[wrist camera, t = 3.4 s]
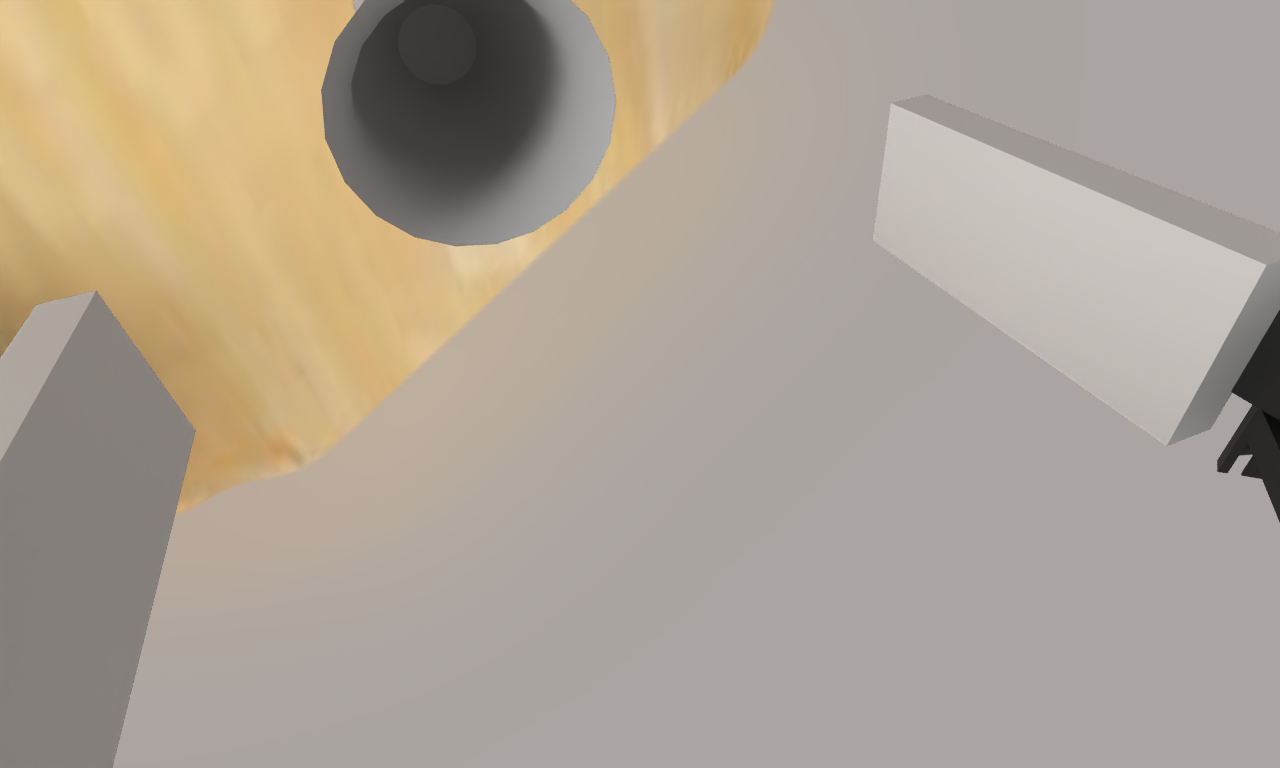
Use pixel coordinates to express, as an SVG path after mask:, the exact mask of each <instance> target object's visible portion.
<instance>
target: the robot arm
mask: <svg viewBox="0 0 1280 768" xmlns="http://www.w3.org/2000/svg"><path fill="white" fill-rule="evenodd" d="M873 241H875V242H876V243H878V244H879V245H880V246H882V247H883V248H885V249H886V250H888V251H889V252H890V253H892V254H893V255H895V256H896V257H898V258H899V259H900V260H902V261H903V262H905V263H906V264H908V265H909V266H910V267H912V268H913V269H915V270H916V271H918V272H919V273H920V274H922V275H923V276H925V277H926V278H927V279H929V280H931V281H932V282H933V283H935V284H936V285H938V286H939V287H940V288H942V289H943V290H945V291H946V292H947V293H949V294H950V295H952V296H953V297H955V298H956V299H958V300H959V301H960V302H962V303H963V304H965V305H966V306H968V307H969V308H970V309H972V310H973V311H975V312H976V313H977V314H979V315H980V316H982V317H983V318H984V319H986V320H987V321H989V322H990V323H992V324H993V325H994V326H996V327H997V328H999V329H1000V330H1002V331H1003V332H1004V333H1006V334H1007V335H1009V336H1010V337H1012V338H1013V339H1015V340H1016V341H1017V342H1019V343H1020V344H1022V345H1023V346H1025V347H1026V348H1027V349H1029V350H1030V351H1032V352H1033V353H1034V354H1036V355H1037V356H1039V357H1040V358H1042V359H1043V360H1044V361H1046V362H1047V363H1049V364H1050V365H1052V366H1053V367H1054V368H1056V369H1057V370H1059V371H1060V372H1062V373H1063V374H1064V375H1066V376H1067V377H1069V378H1070V379H1072V380H1073V381H1074V382H1076V383H1077V384H1079V385H1080V386H1082V387H1083V388H1084V389H1086V390H1087V391H1089V392H1090V393H1091V394H1093V395H1094V396H1096V397H1097V398H1099V399H1100V400H1101V401H1103V402H1104V403H1106V404H1107V405H1109V406H1110V407H1111V408H1113V409H1114V410H1116V411H1117V412H1119V413H1120V414H1122V415H1123V416H1125V417H1126V418H1127V419H1129V420H1130V421H1132V422H1133V423H1134V424H1136V425H1137V426H1139V427H1140V428H1141V429H1143V430H1144V431H1146V432H1147V433H1149V434H1150V435H1152V436H1153V437H1154V438H1156V439H1157V440H1159V441H1160V442H1161V443H1163V444H1164V445H1166V446H1168V445H1171V444H1173V443H1176V442H1178V441H1181V440H1184V439H1186V438H1188V437H1191V436H1194V435H1196V434H1199V433H1201V432H1204V431H1206V430H1209V429H1211V427H1212V426H1213V424H1214V422H1215V421H1216V419H1217V417H1218V415H1219V414H1220V412H1221V411H1222V409H1223V407H1224V406H1225V404H1226V402H1227V401H1228V399H1229V397H1230V396H1231V394H1232V393H1234V394H1236V395H1237V396H1239V397H1241V398H1242V399H1244V400H1246V401H1248V402H1249V403H1251V404H1252V407H1251V408H1250V410H1249V411H1248V413H1247V414H1246V416H1245V418H1244V419H1243V421H1242V422H1241V424H1240V425H1239V427H1238V429H1237V430H1236V432H1235V433H1234V435H1233V437H1232V438H1231V440H1230V441H1229V443H1228V445H1227V446H1226V448H1225V449H1224V451H1223V452H1222V454H1221V456H1220V457H1219V459H1218V460H1217V463H1218V464H1217V465H1218V466H1217V467H1218V468H1217V471H1218V472H1223V473H1228V471H1229V470H1230V468H1231V467H1232V465H1233V464H1234V462H1235V461H1236V459H1237V458H1238V456H1239V455H1251V454H1252V455H1253V456H1252V458H1251V459H1250V461H1249V462H1248V464H1247V465H1246V467H1245V468H1244V470H1243V472H1242V473H1241V475H1242V476H1248V477H1254V478H1260V479H1262V480H1263V482H1264V485H1265V487H1266V490H1267V492H1268V495H1269V497H1270V499H1271V502H1272V504H1273V507H1274V509H1275V511H1276V514H1277V517H1278V519H1279V522H1280V232H1277V231H1274V230H1272V229H1269V228H1267V227H1264V226H1262V225H1259V224H1257V223H1254V222H1252V221H1249V220H1246V219H1244V218H1241V217H1238V216H1236V215H1233V214H1231V213H1228V212H1226V211H1223V210H1221V209H1218V208H1216V207H1213V206H1211V205H1208V204H1205V203H1202V202H1200V201H1198V200H1195V199H1193V198H1190V197H1187V196H1185V195H1182V194H1180V193H1177V192H1175V191H1172V190H1170V189H1167V188H1165V187H1162V186H1159V185H1157V184H1154V183H1151V182H1149V181H1146V180H1144V179H1141V178H1139V177H1136V176H1134V175H1131V174H1129V173H1126V172H1124V171H1121V170H1118V169H1116V168H1113V167H1111V166H1108V165H1106V164H1103V163H1100V162H1098V161H1095V160H1093V159H1090V158H1088V157H1085V156H1082V155H1080V154H1077V153H1075V152H1072V151H1070V150H1067V149H1065V148H1062V147H1060V146H1057V145H1054V144H1052V143H1049V142H1047V141H1044V140H1042V139H1039V138H1037V137H1034V136H1031V135H1029V134H1026V133H1024V132H1021V131H1018V130H1016V129H1013V128H1010V127H1008V126H1006V125H1003V124H1001V123H998V122H995V121H993V120H990V119H988V118H985V117H983V116H980V115H978V114H975V113H972V112H970V111H967V110H965V109H962V108H960V107H957V106H955V105H952V104H949V103H947V102H944V101H942V100H939V99H937V98H934V97H932V96H929V95H924V96H920V97H915V98H911V99H907V100H903V101H898V102H894V103H891V107H890V115H889V122H888V131H887V138H886V145H885V153H884V161H883V168H882V176H881V183H880V192H879V199H878V206H877V214H876V221H875V229H874V237H873ZM195 432H196V430H195V429H194V428H193V426H192V425H191V423H190V422H189V420H188V419H187V418H186V416H185V415H184V413H183V412H182V411H181V409H180V408H179V406H178V405H177V404H176V402H175V401H174V399H173V398H172V397H171V395H170V394H169V392H168V391H167V389H166V388H165V387H164V385H163V384H162V382H161V381H160V380H159V378H158V377H157V375H156V374H155V373H154V371H153V370H152V368H151V367H150V366H149V364H148V363H147V361H146V360H145V358H144V357H143V356H142V354H141V353H140V351H139V350H138V349H137V347H136V346H135V344H134V343H133V342H132V340H131V339H130V337H129V336H128V335H127V333H126V332H125V330H124V329H123V327H122V326H121V325H120V323H119V322H118V320H117V319H116V318H115V316H114V315H113V313H112V312H111V311H110V309H109V308H108V306H107V305H106V304H105V302H104V301H103V299H102V298H101V296H100V295H99V294H98V292H97V291H92V292H88V293H84V294H80V295H75V296H71V297H67V298H63V299H58V300H54V301H50V302H46V303H41V304H37V305H36V306H35V307H34V309H33V310H32V312H31V313H30V315H29V316H28V318H27V319H26V321H25V322H24V324H23V325H22V327H21V328H20V330H19V331H18V332H17V334H16V335H15V337H14V338H13V340H12V341H11V343H10V344H9V346H8V347H7V349H6V350H5V352H4V353H3V355H2V356H1V357H0V768H112V767H113V763H114V759H115V755H116V751H117V747H118V743H119V739H120V735H121V731H122V727H123V723H124V719H125V715H126V711H127V707H128V703H129V699H130V694H131V691H132V687H133V683H134V678H135V674H136V670H137V666H138V662H139V658H140V654H141V650H142V646H143V642H144V638H145V634H146V630H147V626H148V622H149V618H150V614H151V610H152V606H153V602H154V598H155V593H156V589H157V585H158V581H159V577H160V573H161V569H162V565H163V561H164V557H165V553H166V549H167V545H168V541H169V536H170V533H171V529H172V525H173V521H174V517H175V513H176V509H177V504H178V500H179V496H180V492H181V488H182V484H183V480H184V476H185V472H186V468H187V464H188V460H189V456H190V452H191V448H192V444H193V440H194V436H195Z"/></svg>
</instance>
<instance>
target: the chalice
mask: <svg viewBox="0 0 1280 768" xmlns="http://www.w3.org/2000/svg"><path fill="white" fill-rule="evenodd" d="M354 8H355V10H356V13H355V14H354V16H353V17H352V19H351V20H350V21H349V23H348V24H347V25H346V27H345V28H344V30H343V31H342V32H341V34H340V35H339V37H338V38H337V39H336V41H335V43H334V46H333V50H332V54H331V57H330V61H329V64H328V68H327V72H326V75H325V79H324V82H323V86H322V89H321V91H322V104H323V116H324V128H325V139H326V141H327V143H328V146H329V148H330V150H331V152H332V155H333V157H334V159H335V161H336V163H337V166H338V168H339V170H340V172H341V174H342V177H343V179H344V181H345V183H346V184H347V185H348V186H349V187H350V188H351V189H352V190H353V191H354V192H355V193H356V194H357V196H358V197H359V198H360V199H361V200H362V201H363V202H364V203H365V204H366V205H367V206H368V207H369V208H370V209H371V210H372V212H373V213H374V214H375V215H376V216H378V217H380V218H382V219H383V220H385V221H387V222H389V223H390V224H392V225H394V226H396V227H398V228H399V229H401V230H403V231H405V232H406V233H408V234H410V235H412V236H414V237H417V238H421V239H426V240H430V241H435V242H439V243H444V244H448V245H452V246H468V245H487V244H498V243H501V242H504V241H507V240H510V239H513V238H516V237H519V236H522V235H525V234H528V233H531V232H534V231H535V230H537V229H538V228H540V227H541V226H543V225H544V224H546V223H547V222H549V221H550V220H552V219H553V218H555V217H556V216H558V215H559V214H561V213H563V212H564V211H566V210H567V209H568V208H569V206H570V205H571V204H572V203H573V202H574V201H575V200H576V198H577V197H578V196H579V195H580V194H581V193H582V192H583V190H584V189H585V188H586V187H587V186H588V185H589V184H590V183H591V181H592V180H593V178H594V176H595V174H596V172H597V170H598V168H599V165H600V163H601V161H602V159H603V157H604V155H605V153H606V151H607V149H608V146H609V144H610V140H611V133H612V127H613V120H614V113H615V106H616V97H615V90H614V84H613V78H612V72H611V66H610V60H609V56H608V54H607V52H606V50H605V49H604V47H603V45H602V43H601V41H600V39H599V37H598V35H597V33H596V31H595V30H594V28H593V26H592V24H591V22H590V20H589V18H588V16H587V15H586V14H585V13H584V12H582V11H581V10H580V9H579V8H578V7H577V6H576V5H575V4H574V3H573V2H572V1H571V0H354Z"/></svg>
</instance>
